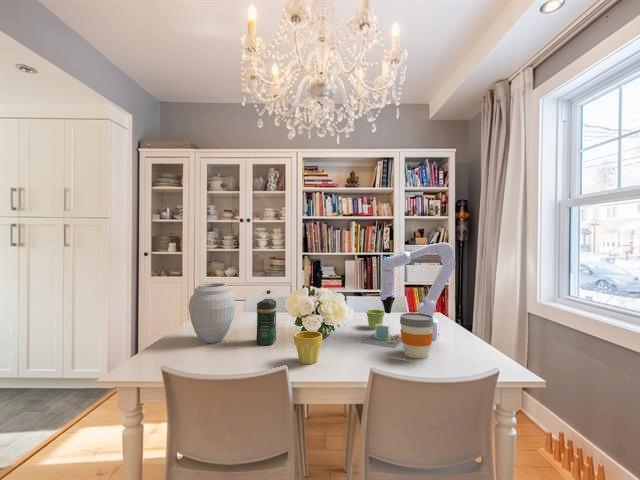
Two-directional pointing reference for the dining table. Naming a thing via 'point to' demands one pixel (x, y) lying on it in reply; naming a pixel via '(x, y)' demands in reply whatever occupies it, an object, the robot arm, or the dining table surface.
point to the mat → (381, 341)
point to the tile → (383, 331)
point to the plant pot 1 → (308, 346)
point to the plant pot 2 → (374, 317)
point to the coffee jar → (266, 322)
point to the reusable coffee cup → (416, 334)
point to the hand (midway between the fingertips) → (387, 313)
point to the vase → (211, 311)
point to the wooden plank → (393, 339)
